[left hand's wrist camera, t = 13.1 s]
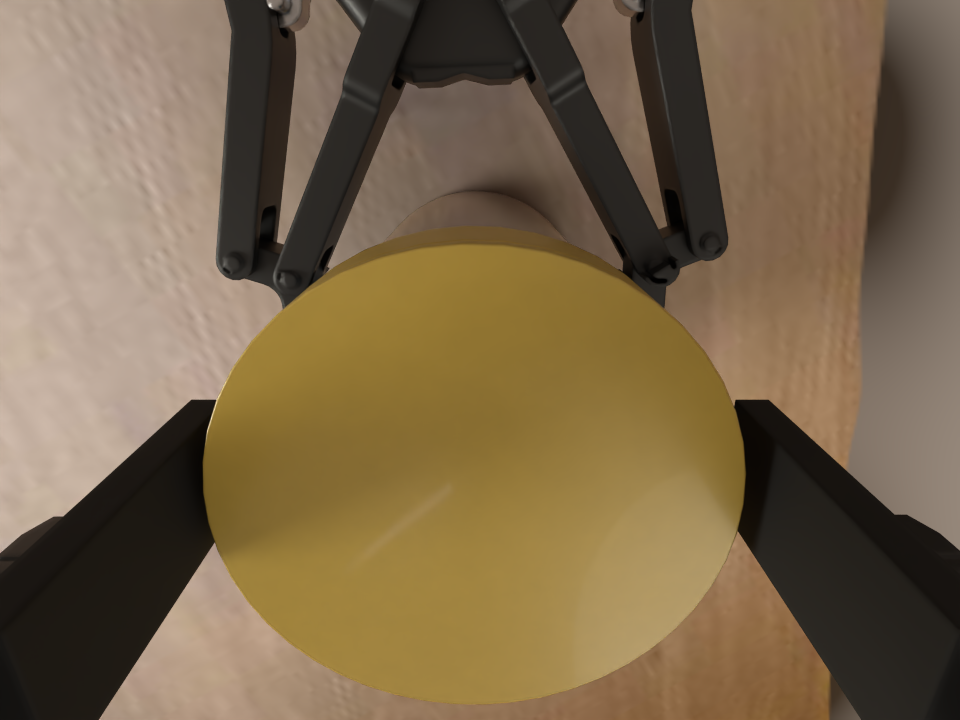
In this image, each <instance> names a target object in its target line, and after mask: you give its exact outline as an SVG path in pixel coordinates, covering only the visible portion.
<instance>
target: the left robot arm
mask: <svg viewBox="0 0 960 720" xmlns="http://www.w3.org/2000/svg"><path fill="white" fill-rule="evenodd" d="M215 403H216V400H191V401H190V402H188V403H187V404H186V405H185V406H184V407H183V408H182V409H181V410H180V411H179V412H178V413H176V414H175V415H174V416H173V417H172V418H171V419H170V420H169V421H168V422H167V423H165V424H164V425H163V426H162V427H161V428H160V429H159V430H158V431H157V432H156V433H154V434H153V435H152V436H151V437H150V438H149V439H148V440H147V441H146V442H145V443H144V444H142V445H141V446H140V447H139V448H138V449H137V450H136V451H135V452H134V453H133V454H131V455H130V456H129V457H128V458H127V459H126V460H125V461H124V462H123V463H122V464H120V465H119V466H118V467H117V468H116V469H115V470H114V471H113V472H112V473H111V474H110V475H108V476H107V477H106V478H105V479H104V480H103V481H102V482H101V483H100V484H99V485H97V486H96V487H95V488H94V489H93V490H92V491H91V492H90V493H89V494H88V495H87V496H85V497H84V498H83V499H82V500H81V501H80V502H79V503H78V504H77V505H76V506H74V507H73V508H72V509H71V510H70V511H69V512H68V513H67V514H66V515H65V516H63V517H52V518H51V519H49V520H47V521H45V522H43V523H42V524H40V525H38V526H36V527H35V528H33V529H31V530H29V531H28V532H26V533H24V534H22V535H21V536H20V537H18V538H17V539H16V540H15V541H14V542H13V543H12V544H10V545H9V546H8V547H7V548H6V549H5V550H4V551H2V552H1V553H0V720H99V718H100V717H101V715H102V714H103V712H104V711H105V709H106V708H107V706H108V705H109V703H110V702H111V700H112V699H113V697H114V695H115V694H116V692H117V691H118V689H119V688H120V686H121V685H122V683H123V682H124V680H125V679H126V677H127V676H128V674H129V673H130V671H131V669H132V668H133V666H134V665H135V663H136V662H137V660H138V659H139V657H140V656H141V654H142V653H143V651H144V650H145V648H146V647H147V645H148V643H149V642H150V640H151V639H152V637H153V636H154V634H155V633H156V631H157V630H158V628H159V627H160V625H161V624H162V622H163V621H164V619H165V617H166V616H167V614H168V613H169V611H170V610H171V608H172V607H173V605H174V604H175V602H176V601H177V599H178V598H179V596H180V595H181V593H182V591H183V590H184V588H185V587H186V585H187V584H188V582H189V581H190V579H191V578H192V576H193V575H194V573H195V572H196V570H197V569H198V567H199V565H200V564H201V562H202V561H203V559H204V558H205V556H206V555H207V553H208V552H209V550H210V549H211V547H212V546H213V544H214V543H215V541H214V538H213V535H212V532H211V529H210V526H209V523H208V517H207V511H206V506H205V500H204V494H203V456H204V449H205V442H206V435H207V429H208V426H209V423H210V420H211V416H212V413H213V410H214V407H215ZM734 408H735V410H736V414H737V418H738V422H739V426H740V430H741V434H742V439H743V444H744V456H745V468H746V479H745V492H744V504H743V509H742V513H741V517H740V522H739V526H738V532H739V533H740V535H741V536H742V538H743V539H744V541H745V543H746V544H747V546H748V547H749V549H750V550H751V552H752V553H753V555H754V556H755V558H756V559H757V561H758V562H759V564H760V565H761V567H762V569H763V570H764V572H765V573H766V575H767V576H768V578H769V579H770V581H771V582H772V584H773V585H774V587H775V588H776V590H777V591H778V593H779V595H780V596H781V598H782V599H783V601H784V602H785V604H786V605H787V607H788V608H789V610H790V611H791V613H792V614H793V616H794V617H795V619H796V621H797V622H798V624H799V625H800V627H801V628H802V630H803V631H804V633H805V634H806V636H807V637H808V639H809V640H810V642H811V643H812V645H813V647H814V648H815V650H816V651H817V653H818V654H819V656H820V657H821V659H822V660H823V662H824V663H825V665H826V666H827V668H828V669H829V671H830V673H831V674H832V676H833V677H834V679H835V680H836V682H837V683H838V685H839V686H840V688H841V689H842V691H843V692H844V694H845V695H846V697H847V699H848V700H849V702H850V703H851V705H852V706H853V708H854V709H855V711H856V712H857V714H858V715H859V717H860V718H861V720H960V550H958V549H957V548H956V547H955V546H954V545H953V544H951V543H950V542H949V541H948V540H947V539H946V538H944V537H943V536H942V535H941V534H940V533H938V532H937V531H935V530H933V529H931V528H929V527H928V526H926V525H924V524H922V523H920V522H919V521H917V520H915V519H913V518H912V517H910V516H908V515H894V514H893V513H892V512H891V511H890V510H889V509H888V508H887V507H885V506H884V505H883V504H882V503H881V502H880V501H879V500H878V499H877V498H876V497H875V496H873V495H872V494H871V493H870V492H869V491H868V490H867V489H866V488H865V487H864V486H862V485H861V484H860V483H859V482H858V481H857V480H856V479H855V478H854V477H853V476H852V475H850V474H849V473H848V472H847V471H846V470H845V469H844V468H843V467H842V466H841V465H840V464H838V463H837V462H836V461H835V460H834V459H833V458H832V457H831V456H830V455H829V454H827V453H826V452H825V451H824V450H823V449H822V448H821V447H820V446H819V445H818V444H816V443H815V442H814V441H813V440H812V439H811V438H810V437H809V436H808V435H807V434H806V433H804V432H803V431H802V430H801V429H800V428H799V427H798V426H797V425H796V424H795V423H793V422H792V421H791V420H790V419H789V418H788V417H787V416H786V415H785V414H784V413H782V412H781V411H780V410H779V409H778V408H777V407H776V406H775V405H774V404H773V403H772V402H770V401H769V400H735V406H734Z"/></svg>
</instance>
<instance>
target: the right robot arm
mask: <svg viewBox="0 0 960 720" xmlns="http://www.w3.org/2000/svg"><path fill="white" fill-rule="evenodd" d="M224 1H225V5H226V9H227V13H228V17H229V22H230V26H231V30H232V33H231V47H230V62H229V76H228V91H227V105H226V119H225V134H224V148H223V162H222V177H221V191H220V206H219V220H218V234H217V249H216V264H217V267H218V269H219V271H220V272H221V273H222V274H223V275H224V276H225V277H227V278H229V279H232V280H241V279H244V278H245V279H248V280H251V281H255V282H258V283H261V284H264V285H267V286H269V287H270V288H272V289H273V290H274V291H275V292H276V293H277V294H278V295H279V297H280V299H281V302H282V306H283V309H284V308H285V307H286V306H287V305H289V304H290V303H291V302H292V301H293V300H294V299H295V298H297V297H298V296H299V295H300V294H301V293H302V292H304V291H305V290H306V289H307V288H308V287H309V286H311V285H312V284H313V283H314V282H316V281H317V280H318V279H320V278H321V277H322V276H323V275H324V274H326V273H327V271H328V270H329V268H328V267H327V266H328V264H329V261H330V259H331V256H332V254H333V252H334V249H335V247H336V244H337V242H338V240H339V237H340V235H341V232H342V230H343V228H344V225H345V223H346V220H347V218H348V216H349V213H350V211H351V208H352V206H353V204H354V201H355V199H356V196H357V194H358V192H359V189H360V187H361V184H362V182H363V180H364V177H365V175H366V172H367V170H368V168H369V165H370V163H371V160H372V158H373V156H374V153H375V151H376V148H377V146H378V144H379V141H380V139H381V136H382V134H383V132H384V129H385V127H386V124H387V122H388V120H389V117H390V115H391V114H392V112H393V111H394V109H395V107H396V105H397V103H398V101H399V99H400V96H401V94H402V92H403V89H404V87H405V84H406V82H407V83H410V84H413V85H416V86H417V87H418V88H438V87H444V86H447V85H450V84H453V83H456V82H458V81H461V80H469V81H473V82H477V83H481V84H485V85H506V84H511V83H512V82H513V81H515V80H518V79H520V78H522V77H524V79H525V80H526V82H527V84H528V86H529V88H530V90H531V92H532V94H533V96H534V97H535V99H536V101H537V102H538V104H539V105H540V106H541V108H542V109H543V111H544V113H545V115H546V117H547V119H548V120H549V122H550V124H551V126H552V128H553V130H554V132H555V134H556V136H557V138H558V139H559V141H560V143H561V145H562V147H563V149H564V151H565V153H566V155H567V156H568V158H569V160H570V162H571V164H572V166H573V168H574V170H575V172H576V174H577V175H578V177H579V179H580V181H581V183H582V185H583V187H584V189H585V191H586V193H587V194H588V196H589V198H590V200H591V202H592V204H593V206H594V208H595V210H596V212H597V213H598V215H599V217H600V219H601V221H602V223H603V225H604V227H605V229H606V231H607V232H608V234H609V236H610V238H611V240H612V242H613V244H614V246H615V248H616V250H617V251H618V253H619V255H620V257H621V259H622V261H623V272H622V271H621V270H620V269H618V270H619V271H621V272H622V273H624V274H625V275H626V276H628V277H629V278H630V279H631V280H632V281H633V282H634V283H636V284H637V285H638V286H639V287H640V288H641V289H643V290H644V291H645V292H646V293H647V294H648V295H649V296H651V297H652V298H653V299H654V300H655V301H656V302H657V303H658V304H659V305H661V306H662V307H663V308H664V306H665V293H666V286H668V285H670V284H671V283H672V282H674V281H675V280H676V278H677V277H678V275H679V272H680V268H682V267H684V266H687V265H689V264H692V263H694V262H697V261H700V260H704V261H710V260H714V259H716V258H718V257H720V256H721V255H722V254H723V253H724V252H725V250H726V248H727V245H728V233H727V227H726V221H725V215H724V209H723V203H722V196H721V190H720V184H719V178H718V172H717V166H716V159H715V153H714V147H713V141H712V135H711V129H710V122H709V116H708V110H707V104H706V98H705V92H704V85H703V79H702V73H701V67H700V61H699V55H698V48H697V42H696V36H695V30H694V24H693V18H692V11H691V9H692V2H693V0H613V3H614V5H615V8H616V9H617V11H618V12H619V13H620V14H622V15H624V16H627V17H631V22H630V25H631V43H632V50H633V56H634V61H635V66H636V71H637V76H638V81H639V86H640V91H641V96H642V101H643V106H644V111H645V116H646V121H647V126H648V131H649V136H650V141H651V146H652V151H653V157H654V162H655V167H656V172H657V177H658V182H659V187H660V192H661V197H662V202H663V207H664V212H665V217H666V222H667V226H666V227H664V228H661V229H659V230H658V228H657V225H656V223H655V221H654V219H653V217H652V215H651V213H650V211H649V209H648V207H647V205H646V203H645V201H644V199H643V197H642V195H641V193H640V191H639V189H638V187H637V185H636V183H635V181H634V179H633V177H632V175H631V173H630V171H629V169H628V167H627V165H626V163H625V161H624V159H623V157H622V155H621V153H620V151H619V148H618V146H617V144H616V142H615V140H614V138H613V136H612V134H611V132H610V130H609V128H608V126H607V124H606V122H605V120H604V118H603V116H602V114H601V112H600V110H599V108H598V106H597V104H596V102H595V100H594V98H593V96H592V94H591V92H590V90H589V88H588V85H587V83H586V80H585V75H584V71H583V69H582V66H581V64H580V62H579V60H578V57H577V55H576V53H575V51H574V49H573V47H572V45H571V43H570V41H569V39H568V37H567V35H566V33H565V31H564V29H563V27H562V24H563V23H564V21H565V19H566V18H567V16H568V15H569V13H570V11H571V10H572V8H573V7H574V5H575V3H576V2H577V0H336V1H337V2H338V3H339V5H340V6H341V7H342V9H343V10H344V11H345V12H346V14H347V15H348V16H349V18H350V19H351V20H352V22H353V23H354V24H355V26H356V27H357V28H358V30H359V31H360V32H361V34H360V37H359V40H358V42H357V45H356V47H355V50H354V53H353V55H352V58H351V61H350V63H349V66H348V68H347V71H346V74H345V77H344V81H343V91H342V95H341V98H340V101H339V103H338V106H337V108H336V111H335V114H334V116H333V119H332V121H331V124H330V127H329V129H328V132H327V134H326V137H325V140H324V142H323V145H322V147H321V150H320V153H319V155H318V158H317V160H316V163H315V166H314V168H313V171H312V173H311V176H310V179H309V181H308V184H307V186H306V189H305V192H304V194H303V197H302V199H301V202H300V205H299V207H298V210H297V212H296V215H295V218H294V220H293V223H292V225H291V228H290V231H289V233H288V236H287V239H286V241H285V244H284V245H283V244H280V243H277V236H278V227H279V218H280V208H281V199H282V190H283V180H284V171H285V162H286V152H287V143H288V134H289V125H290V115H291V106H292V97H293V87H294V78H295V68H296V40H295V32H296V31H299V30H301V29H302V28H304V27H305V25H306V24H307V23H308V20H309V17H310V2H311V0H224Z"/></svg>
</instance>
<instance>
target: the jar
mask: <svg viewBox="0 0 960 720" xmlns="http://www.w3.org/2000/svg"><path fill="white" fill-rule="evenodd" d="M458 226H490V227H504V228H510V229H516V230H522V231H528V232H534V233H538V234H541V235H544V236H547V237H551V238H554V239H557V240H561V241H564V242H567V241H566V240H565V239H564V238H563V237H562V235H561V234H560V233H559V232H558V231H557V230H556V229H555V228H554V226H553V225H552V224H551V223H550V222H549V221H548V220H547V219H546V218H545V217H544V216H542V215H541V214H540V213H539V212H538V211H536V210H535V209H533V208H532V207H530V206H529V205H527V204H525V203H523V202H521V201H519V200H517V199H515V198H512V197H509V196H506V195H502V194H499V193H493V192H486V191H467V192H458V193H454V194H450V195H446V196H442V197H440V198H437V199H435V200H432V201H430V202H428V203H427V204H425V205H423V206H421V207H420V208H418V209H417V210H416V211H414V212H413V213H412V214H410V215H409V216H408V217H407V218H406V219H405V220H404V221H403V222H402V223H401V224H400V225H399V226H398V227H397V228H396V229H395V230H394V231H393V232H392V233H391V235H390V236H389V237H388V238H387V239H386V240H385V241H384V242H386V241H389V240H391V239H394V238H397V237H401V236H405V235H409V234H413V233H417V232H421V231H425V230H429V229H439V228H448V227H458ZM384 242H383V243H384ZM567 243H568V242H567Z"/></svg>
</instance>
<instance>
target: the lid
mask: <svg viewBox="0 0 960 720" xmlns="http://www.w3.org/2000/svg"><path fill="white" fill-rule="evenodd" d="M745 479H746V468H745V456H744V444H743V439H742V434H741V430H740V426H739V422H738V418H737V414H736V410H735V408H734V406H733V403H732V401H731V398H730V396H729V394H728V391H727V389H726V387H725V384H724V382H723V380H722V378H721V377H720V375H719V373H718V372H717V370H716V369H715V367H714V365H713V364H712V362H711V360H710V359H709V357H708V356H707V354H706V352H705V351H704V350H703V349H702V348H701V346H700V345H699V344H698V343H697V342H696V341H695V339H694V338H693V337H692V336H691V335H690V334H689V332H688V331H687V330H686V329H685V328H684V327H683V325H682V324H681V323H680V322H678V321H677V320H676V319H675V318H674V317H673V316H672V315H671V314H670V313H668V312H667V311H666V310H665V309H664V308H663V307H662V306H661V305H659V304H658V303H657V302H656V301H655V300H654V299H653V298H652V297H651V296H649V295H648V294H647V293H646V292H645V291H644V290H643V289H641V288H640V287H639V286H638V285H637V284H636V283H634V282H633V281H632V280H631V279H630V278H629V277H628V276H626V275H625V274H624V273H622V272H621V271H619V270H618V269H616V268H614V267H613V266H611V265H610V264H608V263H607V262H605V261H604V260H602V259H600V258H599V257H597V256H595V255H593V254H591V253H589V252H586V251H584V250H582V249H580V248H578V247H576V246H573V245H571V244H569V243H567V242H564V241H561V240H557V239H554V238H551V237H547V236H544V235H541V234H538V233H534V232H528V231H522V230H516V229H510V228H504V227H490V226H458V227H448V228H439V229H429V230H425V231H421V232H417V233H413V234H409V235H405V236H401V237H397V238H394V239H391V240H389V241H386V242H384V243H381V244H379V245H376V246H374V247H371V248H368V249H366V250H364V251H362V252H360V253H358V254H357V255H355V256H353V257H351V258H349V259H348V260H346V261H344V262H342V263H341V264H339V265H337V266H335V267H334V268H333V269H331V270H330V271H329V272H327V273H326V274H325V275H324V276H322V277H321V278H320V279H318V280H317V281H316V282H314V283H313V284H312V285H311V286H309V287H308V288H307V289H306V290H305V291H304V292H302V293H301V294H300V295H299V296H298V297H297V298H295V299H294V300H293V301H292V302H291V303H290V304H289V305H287V306H286V307H285V308H284V309H283V310H282V311H281V312H279V313H278V314H277V315H276V316H275V317H274V318H273V319H272V320H271V321H270V322H269V323H268V324H267V326H266V327H265V328H264V329H263V330H262V331H261V332H260V333H259V334H258V335H257V336H256V337H255V338H254V339H253V340H252V341H251V343H250V344H249V345H248V347H247V348H246V350H245V351H244V352H243V354H242V355H241V357H240V358H239V360H238V361H237V362H236V364H235V365H234V367H233V368H232V370H231V372H230V374H229V376H228V378H227V380H226V382H225V384H224V386H223V388H222V390H221V392H220V394H219V396H218V398H217V400H216V403H215V407H214V410H213V413H212V416H211V420H210V423H209V426H208V429H207V435H206V442H205V449H204V456H203V494H204V500H205V506H206V511H207V517H208V523H209V526H210V529H211V532H212V535H213V538H214V541H215V544H216V547H217V550H218V552H219V554H220V556H221V558H222V560H223V562H224V564H225V566H226V568H227V570H228V572H229V574H230V576H231V578H232V579H233V581H234V582H235V584H236V585H237V587H238V588H239V590H240V591H241V593H242V594H243V595H244V597H245V598H246V600H247V601H248V602H249V604H250V605H251V606H252V607H253V608H254V609H255V610H256V611H257V613H258V614H259V615H260V616H261V617H262V618H263V619H264V621H265V622H266V623H267V624H268V625H269V626H271V627H272V628H273V629H274V630H275V631H276V632H277V633H278V634H280V635H281V636H282V637H283V638H284V639H285V640H286V641H287V642H289V643H290V644H291V645H293V646H294V647H296V648H297V649H298V650H300V651H301V652H303V653H304V654H306V655H307V656H308V657H310V658H311V659H313V660H314V661H316V662H318V663H320V664H322V665H323V666H325V667H327V668H329V669H331V670H333V671H334V672H336V673H338V674H340V675H342V676H345V677H347V678H349V679H352V680H354V681H356V682H359V683H361V684H364V685H366V686H369V687H372V688H375V689H379V690H382V691H385V692H388V693H391V694H395V695H399V696H404V697H409V698H414V699H419V700H423V701H432V702H441V703H450V704H496V703H509V702H517V701H523V700H529V699H535V698H540V697H545V696H549V695H552V694H556V693H560V692H563V691H567V690H571V689H574V688H576V687H579V686H581V685H584V684H587V683H589V682H592V681H594V680H597V679H600V678H602V677H604V676H606V675H608V674H610V673H612V672H614V671H616V670H618V669H620V668H621V667H623V666H625V665H627V664H629V663H630V662H632V661H633V660H635V659H636V658H638V657H640V656H641V655H643V654H644V653H646V652H647V651H649V650H650V649H652V648H653V647H654V646H655V645H657V644H658V643H659V642H660V641H662V640H663V639H664V638H665V637H666V636H668V635H669V634H670V633H671V632H673V631H674V630H675V629H676V628H677V627H678V626H679V625H680V624H681V623H682V621H683V620H684V619H685V618H686V617H687V616H688V615H689V614H690V613H691V612H692V611H693V610H694V609H695V608H696V606H697V605H698V604H699V602H700V601H701V600H702V598H703V597H704V596H705V594H706V593H707V592H708V590H709V589H710V588H711V586H712V585H713V583H714V581H715V579H716V578H717V576H718V574H719V572H720V570H721V569H722V567H723V565H724V563H725V562H726V560H727V557H728V554H729V552H730V549H731V547H732V544H733V542H734V539H735V537H736V534H737V530H738V526H739V522H740V517H741V513H742V509H743V504H744V492H745Z"/></svg>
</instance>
